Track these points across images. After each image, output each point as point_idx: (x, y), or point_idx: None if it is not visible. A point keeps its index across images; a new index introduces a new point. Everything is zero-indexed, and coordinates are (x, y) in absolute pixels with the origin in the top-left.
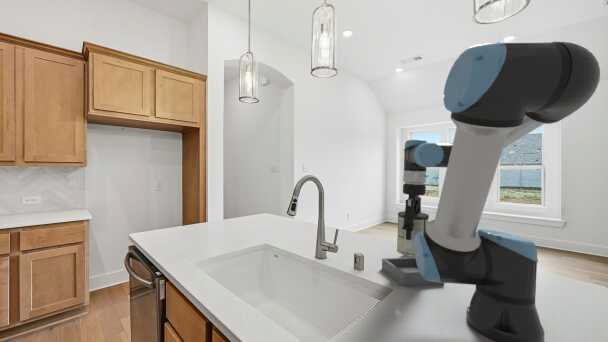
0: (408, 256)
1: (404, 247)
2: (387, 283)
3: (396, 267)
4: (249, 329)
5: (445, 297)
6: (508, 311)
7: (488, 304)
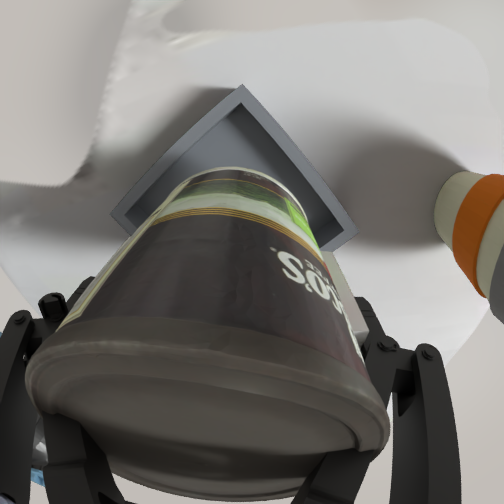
0: (449, 178)
1: (128, 239)
2: (116, 149)
3: (157, 171)
4: None
5: None
6: None
7: None
